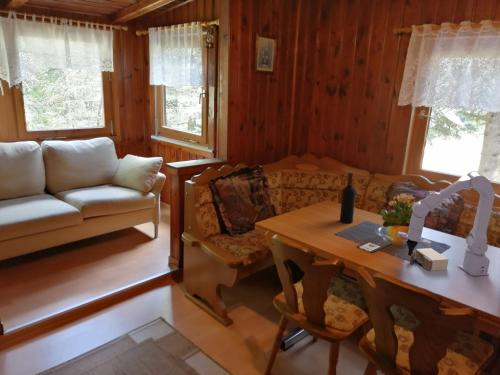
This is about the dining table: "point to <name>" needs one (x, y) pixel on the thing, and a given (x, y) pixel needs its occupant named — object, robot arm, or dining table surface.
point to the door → (412, 256)
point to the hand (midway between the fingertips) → (410, 255)
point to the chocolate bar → (374, 245)
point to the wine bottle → (348, 202)
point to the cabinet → (431, 259)
